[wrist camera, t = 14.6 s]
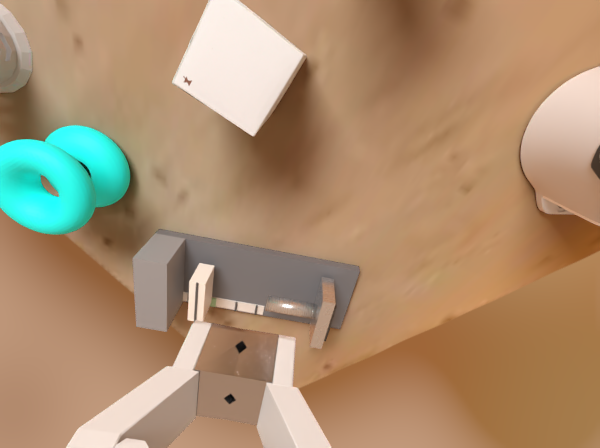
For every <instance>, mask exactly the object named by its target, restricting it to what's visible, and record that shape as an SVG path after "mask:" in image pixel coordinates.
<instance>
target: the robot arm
mask: <svg viewBox="0 0 600 448" xmlns="http://www.w3.org/2000/svg"><path fill="white" fill-rule="evenodd" d="M521 165H522V169H523V171H524V174H525V176H526V177H527V179H528V180H529V182H530V183H531V184H532V186H533V187H534V189H535V191H536V202H537V206H538V208H539V210H540V211H542V212H545V213H547V214H569V215H577V216H579V217H581V218H583V219H585V220H587V221H589V222H591V223H593V224H595V225H598V226H600V66H598V67H596V68H593V69H591V70H588V71H585V72H583V73H581V74H579V75H577V76H575V77H574V78H572V79H570V80H569V81H567V82H566V83H564V84H563V85H561V86H560V87H559V88H558V89H556V90H555V91H554V92H553V93H552V94H551V95H550V96H549V97H548V98H547V99H546V100H545V101H544V102H543V103H542V104H541V106H540V107H539V108H538V109H537V111H536V112H535V114H534V115H533V117H532V118H531V120H530V122H529V124H528V126H527V128H526V131H525V133H524V136H523V140H522V145H521ZM295 347H296V339H295V337H289V336H283V335H277V334H271V333H265V332H259V331H253V330H247V329H246V330H245V329H240V328H235V327H230V326H225V325H220V324H215V323H208V322H203V321H198V320H195V321H194V323H193V324H192V326H191V328H190V330H189V332H188V334H187V337H186V339H185V341H184V343H183V345H182V348H181V349H180V352H179V354H178V356H177V358H176V360H175V363H174V365H173V367H170V366H167V367H165V368H164V369H162V370H161V371H159V372H158V373H157V374H155V375H154V376H152V377H151V378H149V379H148V380H147V381H145V382H144V383H142V384H141V385H139V386H138V387H137V388H135V389H134V390H132V391H131V392H130V393H128V394H127V395H125V396H124V397H122V398H121V399H120V400H118V401H117V402H115V403H114V404H112V405H111V406H110V407H108V408H107V409H106V410H104V411H102V412H101V413H100V414H98V415H97V416H95V417H94V418H92V419H91V420H90V421H88V422H87V423H85V424H84V425H82V426H81V427H80V428H79V429H78V430H77V431H76V433H75V434H74V436H73V438H72V439H71V441H70V442H69V444H68V445H67V447H66V448H167V447H168V446H169V445H170V444H171V443H172V442H173V441H174V440H175V439H176V438H177V437H178V436H179V435H180V434H181V433H182V431H184V430H185V428H186V427H187V426H188V425H189V424H190V423H191V422H192V421H193V420H194V419H195V418H196V416H202V417H210V418H217V419H226V420H231V421H237V422H242V423H247V424H252V425H257V429H258V432H259V435H260V438H261V441H262V444H263V447H264V448H332V447H331V445H330V444H329V442H328V440H327V439H326V437H325V435H324V433H323V432H322V430H321V428H320V426H319V424H318V423H317V421H316V419H315V417H314V415H313V414H312V412H311V410H310V408H309V407H308V405H307V403H306V401H305V399H304V398H303V396H302V394H301V392H300V391H299V389H298V388H296V387H293V377H294V362H295Z"/></svg>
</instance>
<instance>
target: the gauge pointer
mask: <svg viewBox="0 0 600 448" xmlns="http://www.w3.org/2000/svg"><path fill="white" fill-rule="evenodd" d="M213 278H214V265H208V264H203V263H199V265H198V267H197V269H196V270H195V272H194V274H193V276H192V277H191V279H190V281H189V300H188V320H190V321H195V320H198V321H204V319H205V316H206V314H207V312H208V309H209V307H210V304H211V301H212V289H213Z"/></svg>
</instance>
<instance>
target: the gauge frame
mask: <svg viewBox="0 0 600 448" xmlns="http://www.w3.org/2000/svg"><path fill="white" fill-rule="evenodd" d="M199 263H203V264H208V265H214V278H213V289H212V301H211V304H210V307H217V308H223V309H229V310H234V311H240V312H246V313H251V314H255V315H256V314H257V315H263V316H268V317H274V318H280V319H285V320H291V321H297V322H302V323H308V324H310V319H311V318H305V317H299V316H294V315H288V314H282V313H277V312H271V311H265V307H266V302H267V297H268V295H269V296H275V297H280V298H286V299H291V300H297V301H302V302H308V303H313V304H315V301H316V297H317V294H318V290H319V287H320V283H321V279H322V277H325V278H330V279H334V288H335V295H336V306H337V308H336V311H335V314H334V317H333V321H332V324H331V328H337V329H340V328H341V325H342V322H343V319H344V316H345V314H346V311H347V308H348V305H349V302H350V299H351V296H352V293H353V290H354V287H355V284H356V281H357V278H358V276H359V273H360V269H359V266H354V265H349V264H344V263H338V262H333V261H328V260H322V259H317V258H312V257H306V256H301V255H296V254H290V253H285V252H280V251H274V250H269V249H264V248H258V247H253V246H248V245H242V244H237V243H232V242H226V241H221V240H215V239H210V238H205V237H199V236H194V235H189V234H183V233H178V232H173V231H167V230H162V229H159V230H158V231H157V232H156V233H155V234H154V235H153V236H152V237H151V238H150V239H149V241H148V242H147V243H146V244H145V245H144V246H143V247H142V248H141V249H140V250H139V252H138V253H137V254H136V255H135V256H134V257H133V275H134V293H135V311H136V327H142V328H148V329H153V330H160V331H165V332H167V330H168V328H169V327H170V325H171V323H172V321H173V319H174V317H175V316H176V314H177V312H178V310H179V308H180V306H181V305H182V303H183V302H187V303H188V300H189V281H190V279H191V277H192V276H193V274H194V272H195V270H196V269H197V267H198V265H199Z"/></svg>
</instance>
